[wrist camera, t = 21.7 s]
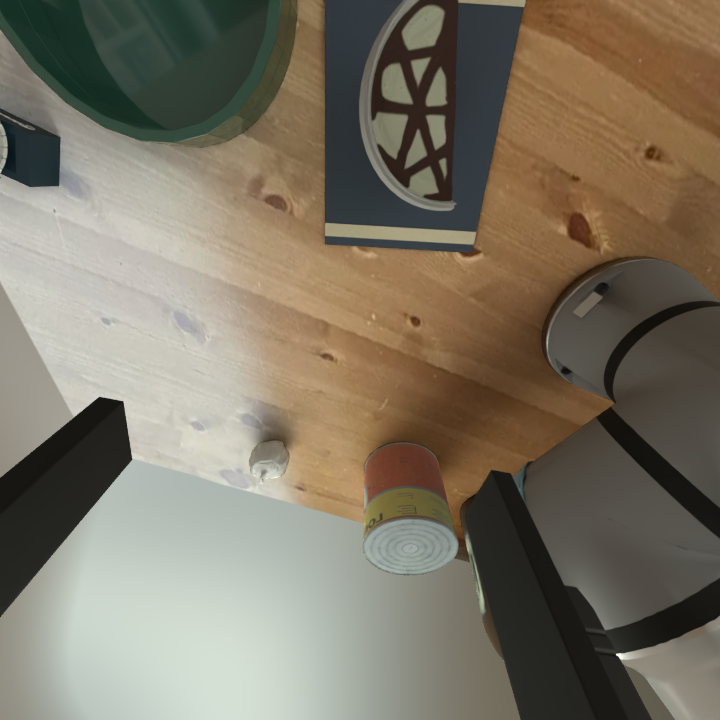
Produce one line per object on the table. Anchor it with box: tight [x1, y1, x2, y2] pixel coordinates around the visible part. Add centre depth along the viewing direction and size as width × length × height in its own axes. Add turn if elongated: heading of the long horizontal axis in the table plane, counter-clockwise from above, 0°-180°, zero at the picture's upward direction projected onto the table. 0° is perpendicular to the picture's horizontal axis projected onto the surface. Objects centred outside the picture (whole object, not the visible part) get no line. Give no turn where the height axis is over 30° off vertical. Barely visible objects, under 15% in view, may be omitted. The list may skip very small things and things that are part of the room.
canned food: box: [363, 442, 459, 575], centre depth 44 cm, size 11×11×12 cm
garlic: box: [249, 440, 289, 484], centre depth 46 cm, size 6×5×5 cm
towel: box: [325, 0, 526, 253], centre depth 29 cm, size 15×20×1 cm
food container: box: [359, 0, 458, 211], centre depth 24 cm, size 12×6×10 cm, turn 6°
